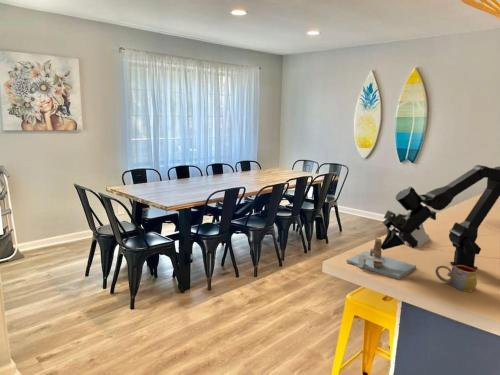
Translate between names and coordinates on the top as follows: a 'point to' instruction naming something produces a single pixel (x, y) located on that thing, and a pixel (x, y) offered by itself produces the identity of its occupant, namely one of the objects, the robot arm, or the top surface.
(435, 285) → the top surface
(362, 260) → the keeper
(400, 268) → the board
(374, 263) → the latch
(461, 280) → the mug
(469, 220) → the robot arm
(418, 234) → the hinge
